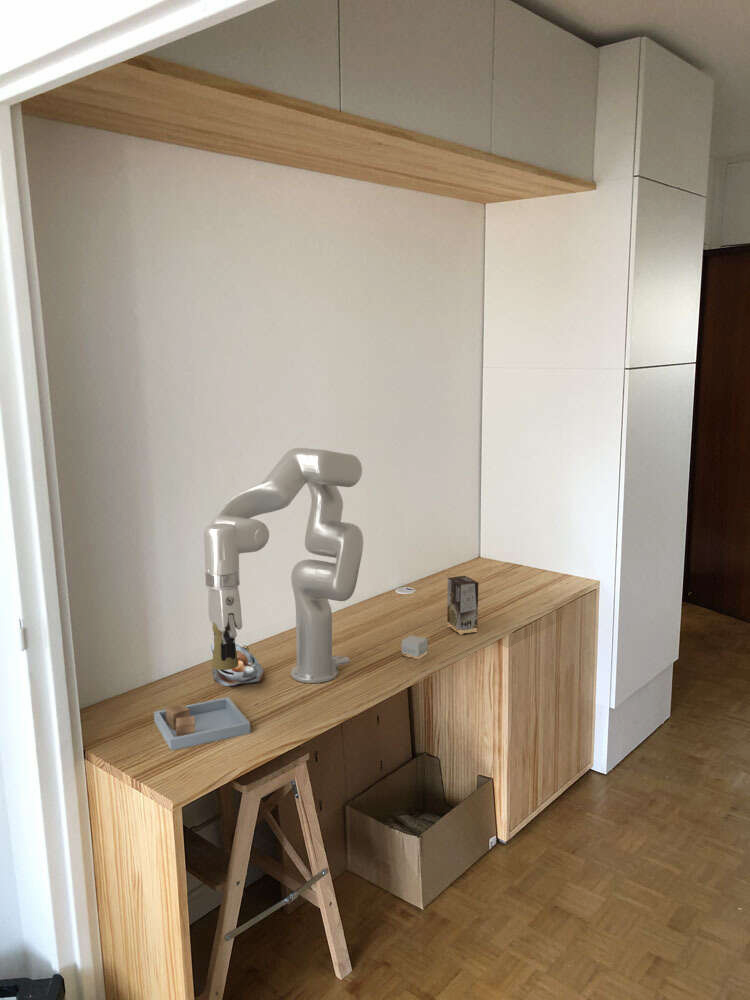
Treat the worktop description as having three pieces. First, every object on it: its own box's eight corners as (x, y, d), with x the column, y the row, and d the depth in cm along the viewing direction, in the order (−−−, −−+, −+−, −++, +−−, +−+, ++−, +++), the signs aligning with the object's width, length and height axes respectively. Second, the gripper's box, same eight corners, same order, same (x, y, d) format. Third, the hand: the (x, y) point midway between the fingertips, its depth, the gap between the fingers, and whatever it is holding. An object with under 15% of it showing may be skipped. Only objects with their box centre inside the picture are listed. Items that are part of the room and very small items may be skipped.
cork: (226, 658, 194) (224, 613, 192) (244, 664, 191) (242, 618, 189) (206, 665, 190) (204, 619, 188) (224, 672, 186) (222, 625, 184)
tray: (228, 708, 202) (228, 696, 202) (250, 735, 188) (249, 723, 188) (154, 723, 194) (153, 711, 194) (171, 753, 180) (170, 740, 180)
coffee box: (478, 633, 255) (479, 582, 252) (459, 635, 253) (460, 584, 250) (464, 623, 264) (465, 574, 261) (446, 626, 261) (447, 576, 258)
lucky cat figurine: (274, 676, 222) (271, 642, 213) (244, 707, 214) (240, 672, 205) (232, 651, 228) (227, 617, 219) (201, 680, 220) (195, 645, 211)
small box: (428, 654, 238) (428, 638, 237) (418, 660, 233) (418, 644, 232) (411, 650, 241) (411, 634, 240) (400, 656, 236) (400, 640, 235)
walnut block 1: (182, 719, 195) (182, 703, 194) (190, 725, 192) (189, 709, 191) (166, 724, 193) (165, 708, 192) (173, 730, 189) (173, 714, 189)
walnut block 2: (195, 732, 188) (194, 716, 188) (195, 740, 185) (194, 724, 184) (177, 734, 188) (176, 717, 187) (176, 742, 184) (176, 725, 183)
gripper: (251, 585, 181) (253, 665, 184) (226, 568, 195) (228, 642, 199) (218, 590, 177) (221, 671, 181) (195, 572, 192) (197, 647, 195)
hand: (224, 655), depth 190 cm, fingers closed on cork, 3 cm apart
